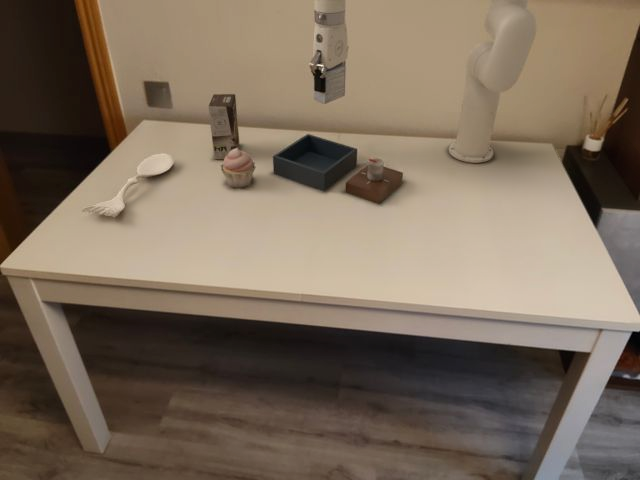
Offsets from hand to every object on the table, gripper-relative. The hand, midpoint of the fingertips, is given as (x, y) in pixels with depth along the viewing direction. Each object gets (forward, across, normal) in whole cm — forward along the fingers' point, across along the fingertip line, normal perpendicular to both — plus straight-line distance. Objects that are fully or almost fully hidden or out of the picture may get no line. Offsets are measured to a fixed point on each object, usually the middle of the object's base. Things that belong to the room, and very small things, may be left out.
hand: (329, 85), depth 144 cm
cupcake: (+21, -24, +13) cm, 35 cm away
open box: (+22, -8, 0) cm, 23 cm away
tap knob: (+19, -7, -18) cm, 27 cm away
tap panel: (+22, -7, -18) cm, 29 cm away
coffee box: (+21, -13, +27) cm, 37 cm away
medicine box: (+4, 0, 0) cm, 4 cm away
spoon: (+21, -42, +33) cm, 58 cm away
